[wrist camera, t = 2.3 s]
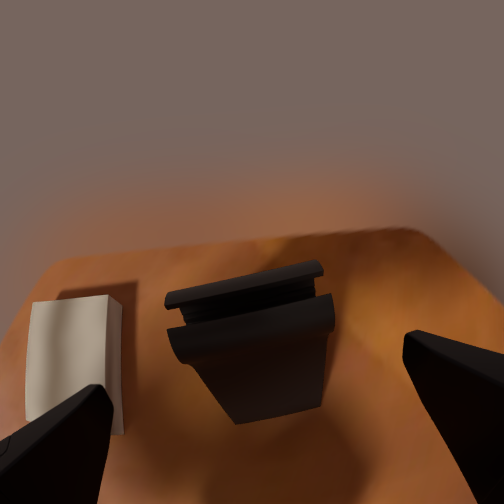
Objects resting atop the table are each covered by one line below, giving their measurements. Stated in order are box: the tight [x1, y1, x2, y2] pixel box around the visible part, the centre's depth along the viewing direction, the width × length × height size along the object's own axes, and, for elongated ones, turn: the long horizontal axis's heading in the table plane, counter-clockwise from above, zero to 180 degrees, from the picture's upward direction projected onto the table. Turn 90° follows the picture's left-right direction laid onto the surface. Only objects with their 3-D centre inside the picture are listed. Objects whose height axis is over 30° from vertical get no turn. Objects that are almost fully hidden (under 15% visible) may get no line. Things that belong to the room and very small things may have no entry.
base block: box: [25, 295, 124, 435], centre depth 20 cm, size 9×11×2 cm
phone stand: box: [164, 260, 335, 425], centre depth 16 cm, size 9×6×12 cm, turn 11°
